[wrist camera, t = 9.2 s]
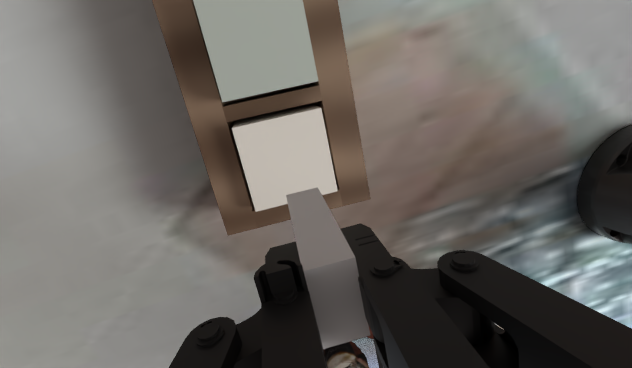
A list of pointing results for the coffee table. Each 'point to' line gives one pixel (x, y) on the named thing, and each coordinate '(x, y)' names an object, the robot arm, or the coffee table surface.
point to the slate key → (256, 45)
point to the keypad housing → (265, 110)
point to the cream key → (284, 155)
